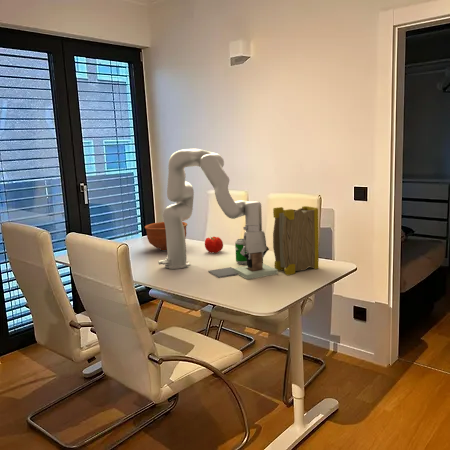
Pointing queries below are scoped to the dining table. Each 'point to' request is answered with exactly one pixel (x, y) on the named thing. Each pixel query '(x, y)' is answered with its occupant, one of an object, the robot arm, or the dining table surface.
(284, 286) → the dining table surface
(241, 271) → the pocket board
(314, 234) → the decorative book
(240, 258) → the soda can
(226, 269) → the rubber mat
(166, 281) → the dining table surface
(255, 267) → the walnut block
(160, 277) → the dining table surface
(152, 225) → the bowl
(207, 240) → the tomato
